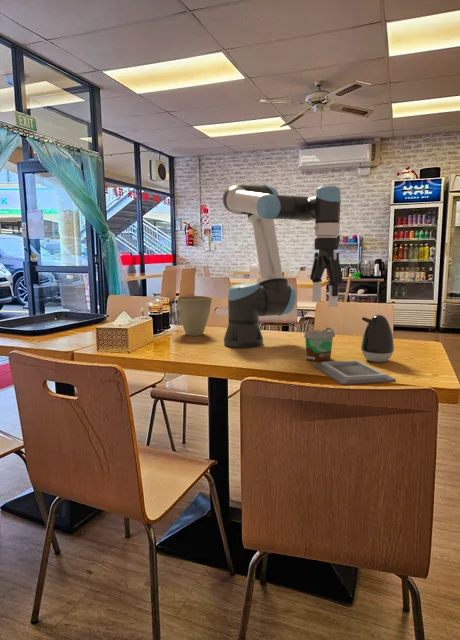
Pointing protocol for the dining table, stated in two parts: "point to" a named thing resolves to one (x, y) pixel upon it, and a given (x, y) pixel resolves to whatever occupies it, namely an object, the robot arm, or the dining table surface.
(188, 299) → the plant pot
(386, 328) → the pump dispenser
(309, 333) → the food container
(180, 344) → the dining table surface
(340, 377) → the mat
